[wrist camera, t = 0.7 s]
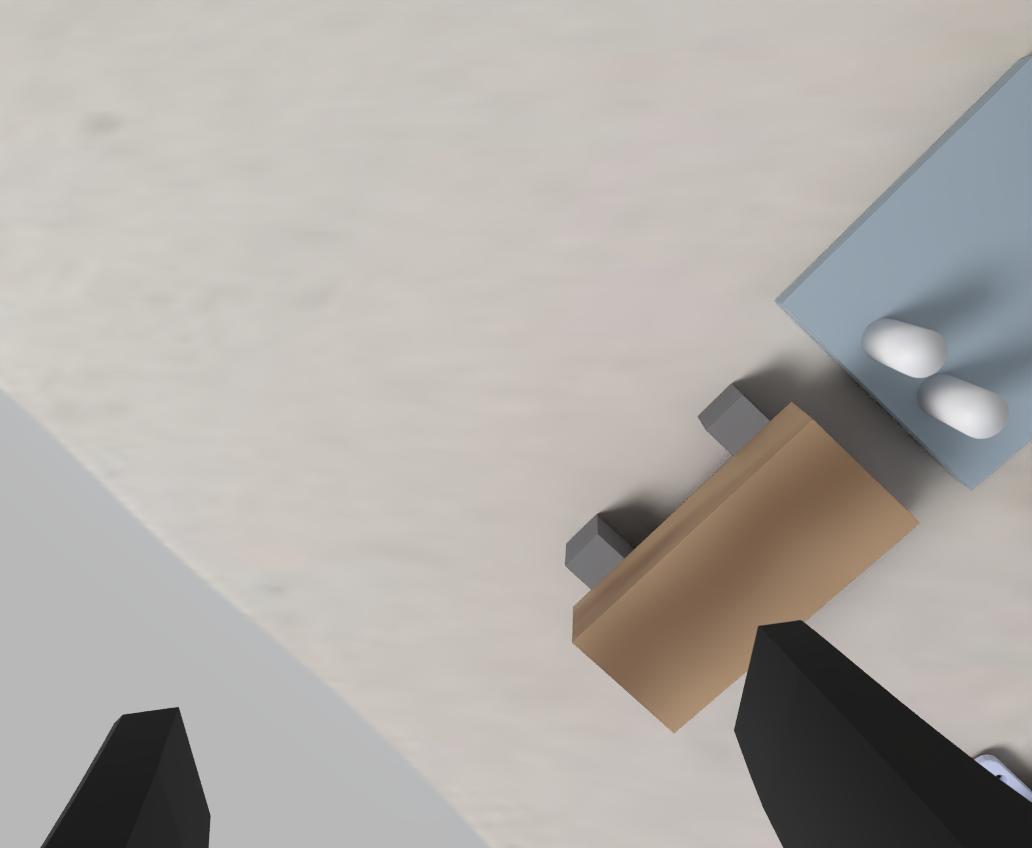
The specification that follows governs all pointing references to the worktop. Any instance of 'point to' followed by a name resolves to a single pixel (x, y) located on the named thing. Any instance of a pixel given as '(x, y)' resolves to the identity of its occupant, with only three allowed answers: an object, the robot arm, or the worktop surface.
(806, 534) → the shelf board
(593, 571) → the board rack
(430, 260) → the worktop surface
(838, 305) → the peg base
